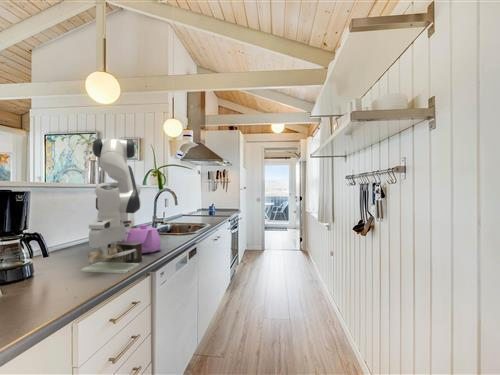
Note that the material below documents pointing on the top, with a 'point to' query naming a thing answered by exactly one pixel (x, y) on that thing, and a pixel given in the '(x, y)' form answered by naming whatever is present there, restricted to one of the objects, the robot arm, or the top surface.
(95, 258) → the turner
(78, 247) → the top surface
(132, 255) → the coffee box
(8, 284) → the top surface
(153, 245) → the teapot
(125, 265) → the board
